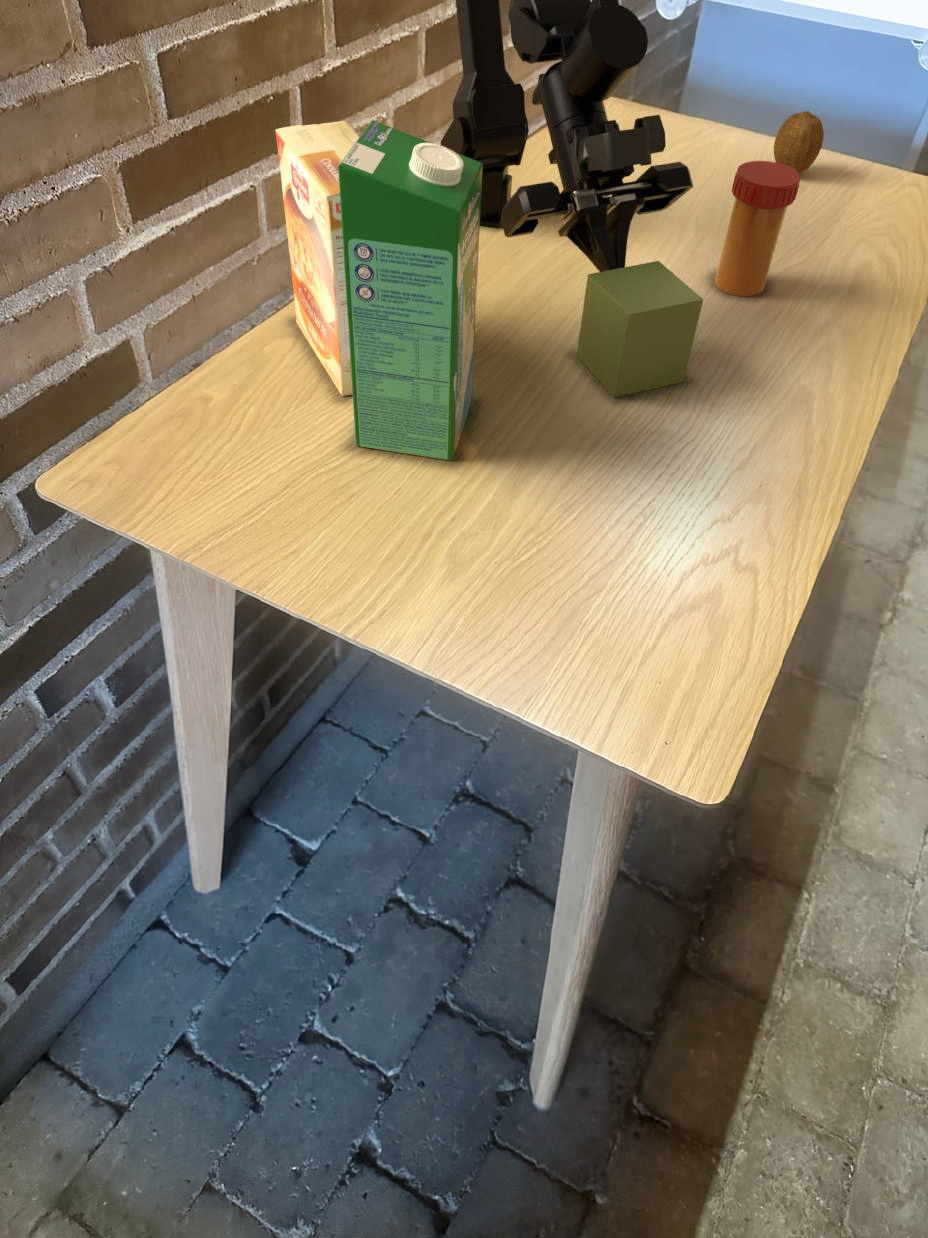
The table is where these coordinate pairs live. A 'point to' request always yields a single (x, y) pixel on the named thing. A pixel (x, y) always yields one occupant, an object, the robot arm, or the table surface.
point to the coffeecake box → (318, 238)
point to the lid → (766, 184)
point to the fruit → (799, 141)
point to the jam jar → (748, 249)
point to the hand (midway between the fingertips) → (618, 285)
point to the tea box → (637, 328)
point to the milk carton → (410, 289)
